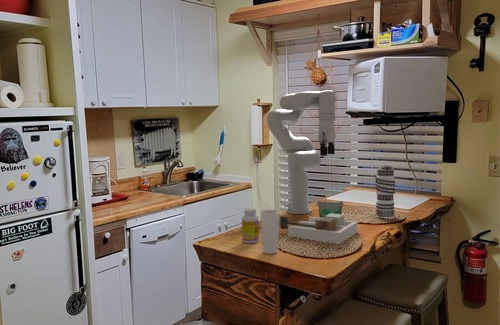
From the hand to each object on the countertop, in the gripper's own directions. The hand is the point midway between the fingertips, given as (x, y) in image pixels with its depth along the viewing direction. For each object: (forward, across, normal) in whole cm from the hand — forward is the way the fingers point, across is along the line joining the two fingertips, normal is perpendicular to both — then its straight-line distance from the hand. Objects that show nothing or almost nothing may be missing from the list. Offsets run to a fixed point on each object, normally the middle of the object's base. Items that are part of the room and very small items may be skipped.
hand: (327, 154), depth 193 cm
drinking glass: (+32, +54, -3) cm, 62 cm away
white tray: (+32, +23, +6) cm, 40 cm away
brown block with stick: (+30, +27, 0) cm, 41 cm away
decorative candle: (+32, -19, +22) cm, 43 cm away
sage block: (+30, +19, +9) cm, 37 cm away
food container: (+32, +3, +1) cm, 32 cm away
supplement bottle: (+32, +45, -16) cm, 57 cm away
